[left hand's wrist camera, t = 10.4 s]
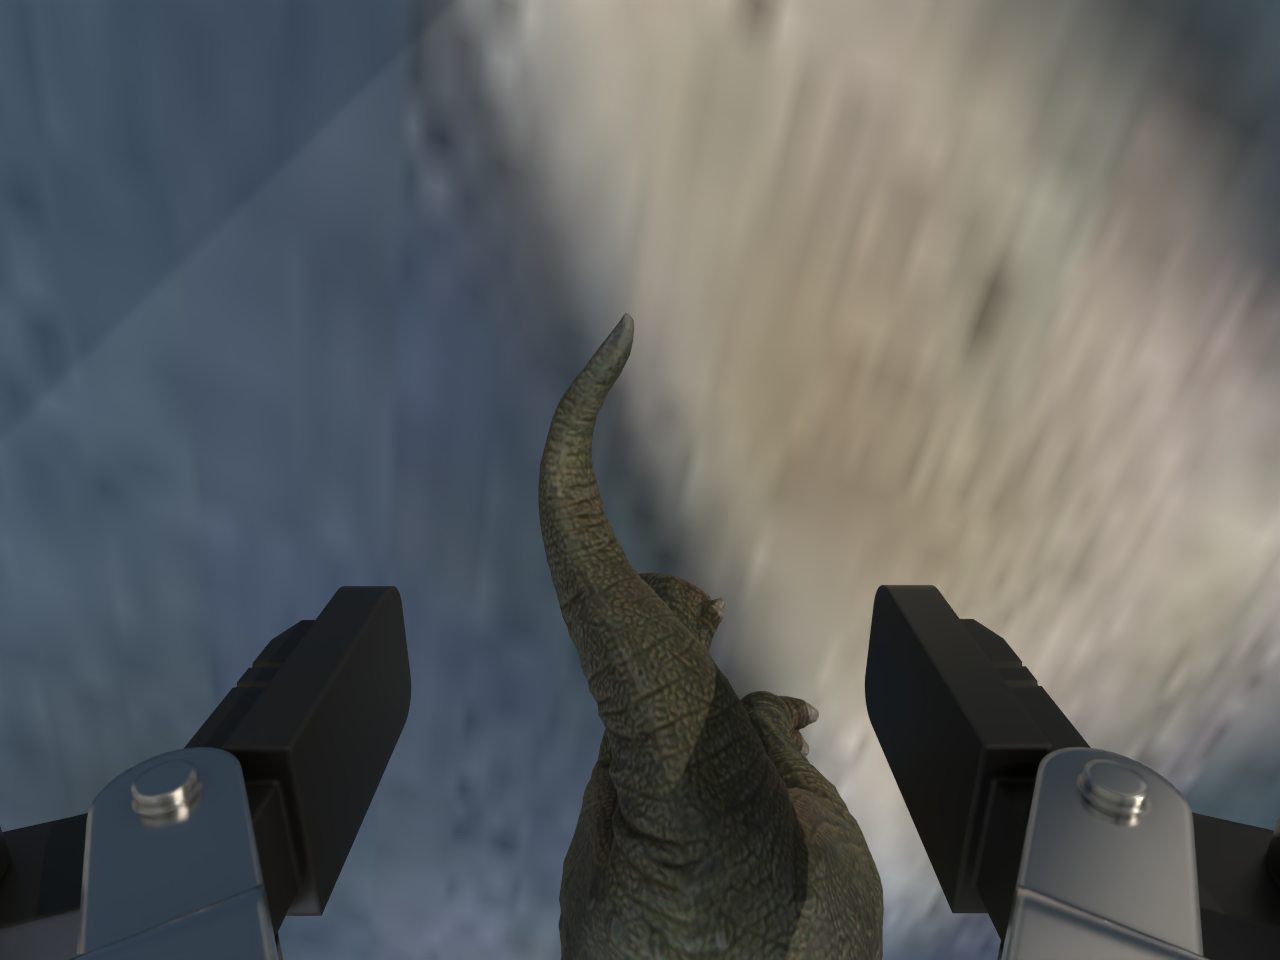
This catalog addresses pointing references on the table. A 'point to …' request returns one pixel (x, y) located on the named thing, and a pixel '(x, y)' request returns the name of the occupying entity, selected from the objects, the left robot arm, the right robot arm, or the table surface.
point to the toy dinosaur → (685, 757)
